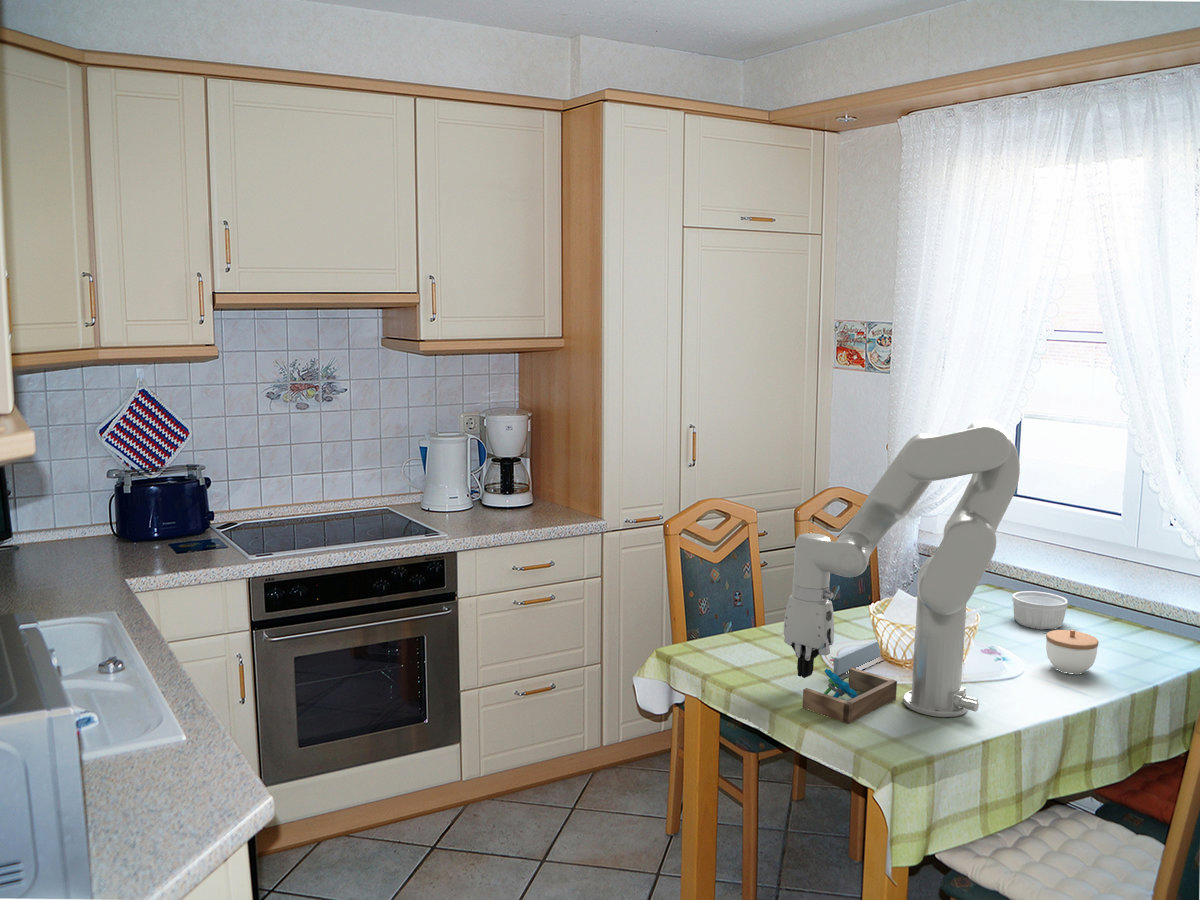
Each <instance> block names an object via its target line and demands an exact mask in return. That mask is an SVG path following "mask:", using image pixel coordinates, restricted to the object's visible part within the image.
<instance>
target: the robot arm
mask: <svg viewBox="0 0 1200 900" xmlns="http://www.w3.org/2000/svg"><path fill="white" fill-rule="evenodd" d="M1020 468H1021V464H1020V458H1019V453H1018V450H1017V447H1016V445H1015V443H1014V441H1013V439H1012V437H1011V436H1010V435H1009V433H1008V431H1006V429H1005V428H1004V427H1003V426H1002V425H1001V424H999V422H996V421H994V420H992V419H991V420H990V419H979V420H976V421H974V422H972V423H971V424H970V425H968V427H966V429H965V430H960V431H956V432H952V433H947V434H941V435H933V434H931V433H927V432H926V433H925V432H924V433H917V434H915V435H913V436H912V437H910V438H909V440H907V442H906V443H905V444H904V446H903V447H902V449H900V451H899V452H898V454H897V455H896V457H895V458H894V459H893V461H892V462H891V464H890V465H889V466H888V467H887V469H886V470H885V472H884V473H883V475H882V476H881V477H880V478H879V480H878V481H877V483H876V484H875V485H874V487H873V488H872V489H871V491H870V492H869V494H868V495H867V497H866V499H865V501H864V502H863V503H862V505H861V507H860V508H858V510H857V512H856V513H855V514H854V515H853V517H852V518H851V520H850V521H849V522H848V523H847V525H846V526H845V528H844V529H843V530H842V532H841V533H840V535H839V536H838V538H837V539H836V541H832V539H831V538H830V537H829V536H827V535H825V534H821V533H811V532H810V533H809V532H807V533H802V534H799V535H798V536H797V537H796V539H795V544H794V545H795V546H794V558H793V559H794V561H793V562H794V563H793V577H792V592H791V594H790V595H789V597H788V600H787V604H786V608H785V614H784V620H783V638H784V641H783V642H784V643H785V644H787V645H788V646H790V647H791V648H792V649H793V651H794V652H795V653H794V654H795V657H796V658H797V664H796V668H797V676H798V677H801V678H804V679H806V678H809V677H810V676H812V675H813V673H814V663H815V659H816V658H817V657H819V656H828V655H830V654H831V649H830V646H832V645H833V644H834V641H835V616H834V607H833V603H832V602H833V601H831V600H832V599H833V598H834V596H835V595H834V592H831V591H830V583H831V582H830V580H831V574H833V575H837V576H841V577H844V578H855V577H858V576H860V575H862V574H863V573H864V572H865V571H866V569H867V567H868V565H869V561H870V556H871V555H872V553H874V550H875V549H876V548H877V546H878V545H879V544H880V542H881V540H883V538H884V537H885V536H886V534H887V533H889V531H890V529H891V528H892V527H894V525H895V524H896V523H898V522H899V521H901V520H903V519H905V517H907V516H908V514H910V512H911V511H912V510H913V508H914V507H915V505H916V504H917V503H918V501H919V500H920V499H921V497H922V496H923V494H924V492H926V490H927V489H928V488H929V486H930V485H931V484H932V482H934V481H942V480H946V479H947V480H948V479H953V478H957V477H961V476H967V475H971V477H970V480H969V482H968V484H967V486H966V488H965V490H964V493H963V494H962V496H961V498H960V500H959V501H958V504H957V505H956V507H955V509H954V510H953V512H952V514H951V515H950V517H949V519H948V520H947V521H946V522H945V525H944V528H943V538H942V540H941V542H940V544H939V546H938V548H937V550H936V551H935V553H934V555H931V556H929V557H927V559H926V560H924V562H922V564H921V566H920V568H919V570H918V574H917V589H916V591H917V593H916V613H915V615H916V616H915V629H914V630H915V631H914V644H913V645H914V646H913V663H912V678H911V679H912V680H911V690H909V691H907V692H905V693H904V695H903V699H902V701H903V703H904V705H905V706H906V707H907V708H908V709H910V710H911V711H914V712H916V713H919V714H922V715H927V716H929V717H930V716H931V717H937V718H953V717H955V718H956V717H959V716H962V715H965V713H967V711H968V710H969V711H972V712H975V713H976V712H978V710H979V700H978V698H977V697H973V696H968V695H967V694H966V693H967V692H966V690H967V688H966V687H965V686H962V677H963V661H964V648H965V647H964V645H965V635H966V617H967V604H968V602H969V600H970V599H971V597H972V596H973V594H974V592H975V590H976V588H977V587H978V585H979V584H980V581H981V580H982V578H983V576H984V574H985V572H986V570H987V568H988V567H989V565H990V563H991V561H992V559H993V558H994V555H995V551H996V548H997V535H996V532H997V529H998V528H999V525H1000V523H1001V521H1002V519H1003V517H1004V515H1005V514H1006V511H1007V510H1008V507H1009V505H1010V503H1011V501H1012V499H1013V497H1014V496H1015V493H1016V490H1017V488H1018V483H1019V480H1020V473H1021V472H1020V471H1021V469H1020ZM829 599H830V600H829Z"/></svg>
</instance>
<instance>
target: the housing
mask: <svg viewBox="0 0 1200 900" xmlns="http://www.w3.org/2000/svg"><path fill="white" fill-rule="evenodd" d="M846 677H847V678H848V681H847V683H848V684H849V687H850V688H851V689H853V690H854V689H855V690H859V691H861V692H864V693H861V694H858V695H859V696H857V697H855V698H853V699H852V698H850V699H849V700H844V699H841V698H839V697H838V698H835V697H832V696H833V695H832V696H831V695H829V694H827V695H826V694H823V693H824V692H819V691H818V690H817V691H816V690H814V689H810V688H808V687H806V688H804V689H803V690H802V707H803V708H805V709H804V710H806V709H809V710H811V711H810V712H812V711H814V712H813V713H815V712H816V713H815V714H818V713H819V714H818V715H820V714H822V715H821V716H823V715H825V716H824V717H826V716H828V717H827V718H829V717H830V718H829V719H832V718H833V719H832V720H836V721H838V720H839V721H838V722H841V723H844V724H847V725H849V724H852V723H853V722H855V721H857V720H859V719H861V718H863V717H865V716H867V715H868V714H871V713H873V712H874V711H876V710H879V709H880V708H882V707H884V706H886V705H888V704H891V702H893V701H895V700H897V689H898V688H897V687H898V686H897V685H898V681H897V680H894V679H892V678H889V677H884V676H883V675H882V676H881V675H879V674H875V673H871V672H868V671H865V670H863V671H862V670H859V669H856V668H850V669H849V673H848V672H847V674H846V672H845V673H843V674H841V675H839V678H840V679H841V680H842V681H844V680H845V679H847V678H846ZM803 708H802V709H803ZM809 710H808V711H809Z"/></svg>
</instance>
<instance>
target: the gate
mask: <svg viewBox="0 0 1200 900" xmlns="http://www.w3.org/2000/svg"><path fill="white" fill-rule="evenodd" d="M877 639H878V638H876V639H873V640H871V641H869V642H867V643H864V644H863V645H861V646H858V647H856V648H853V649H851V650H848V651H847V652H844V653H841V654H839V655H837V656H835V657H834V658H833V673H835V674H836V675H838V676H839V675H841V674H843V673H845V672H848V671H849V669H850V668H856V667H859V666H861V665H863V664H865V663H867V662H870V661H872V660H874V659H876V658H878V657H881V648H880V649H879V644H878V641H877Z"/></svg>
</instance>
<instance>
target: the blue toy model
mask: <svg viewBox="0 0 1200 900" xmlns="http://www.w3.org/2000/svg"><path fill="white" fill-rule="evenodd" d="M824 673H825V676H827V677H828V680H827V681H828V682H829V683H828V684H827V688H826V689H825V691H824V692H822V693H823V694H826V695H829V693H830V692H831V691H833V692H834V694H833V695H832V697H835V698H839V697H842V696H843V695H844V694H847V695H848V696H849V698H850V699H853V698H855V697H857V696H859V695H860V694H858V693H857V692H856V691H855V690H854V688H851V687H849V684H848V681H844V680H841V679H840V678H839V676H838V675H836V674H835V673H834V671H832V670H831V669H828V668H826V669H824Z"/></svg>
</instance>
